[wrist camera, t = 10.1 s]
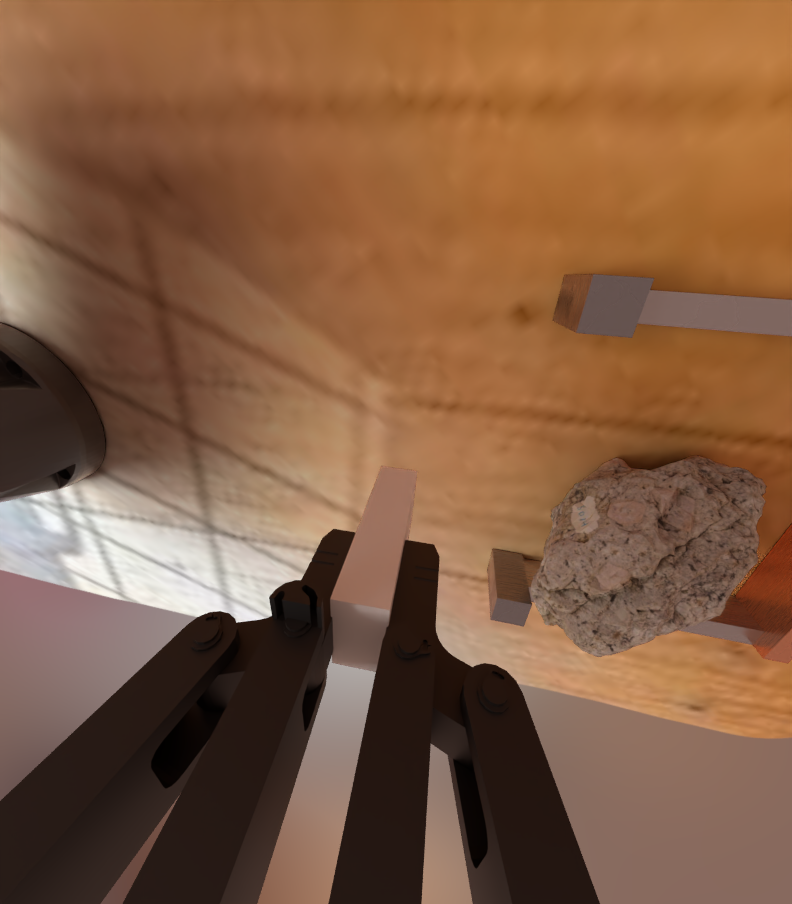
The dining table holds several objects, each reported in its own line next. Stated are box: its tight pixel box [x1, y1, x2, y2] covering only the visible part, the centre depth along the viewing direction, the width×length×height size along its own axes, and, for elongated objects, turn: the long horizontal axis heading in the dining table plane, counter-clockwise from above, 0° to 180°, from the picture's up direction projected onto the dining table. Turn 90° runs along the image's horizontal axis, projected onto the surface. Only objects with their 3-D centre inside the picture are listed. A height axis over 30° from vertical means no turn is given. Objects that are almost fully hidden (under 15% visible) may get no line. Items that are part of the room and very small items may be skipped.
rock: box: [531, 455, 766, 657], centre depth 21 cm, size 14×10×8 cm
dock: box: [487, 274, 792, 663], centre depth 21 cm, size 20×23×5 cm
